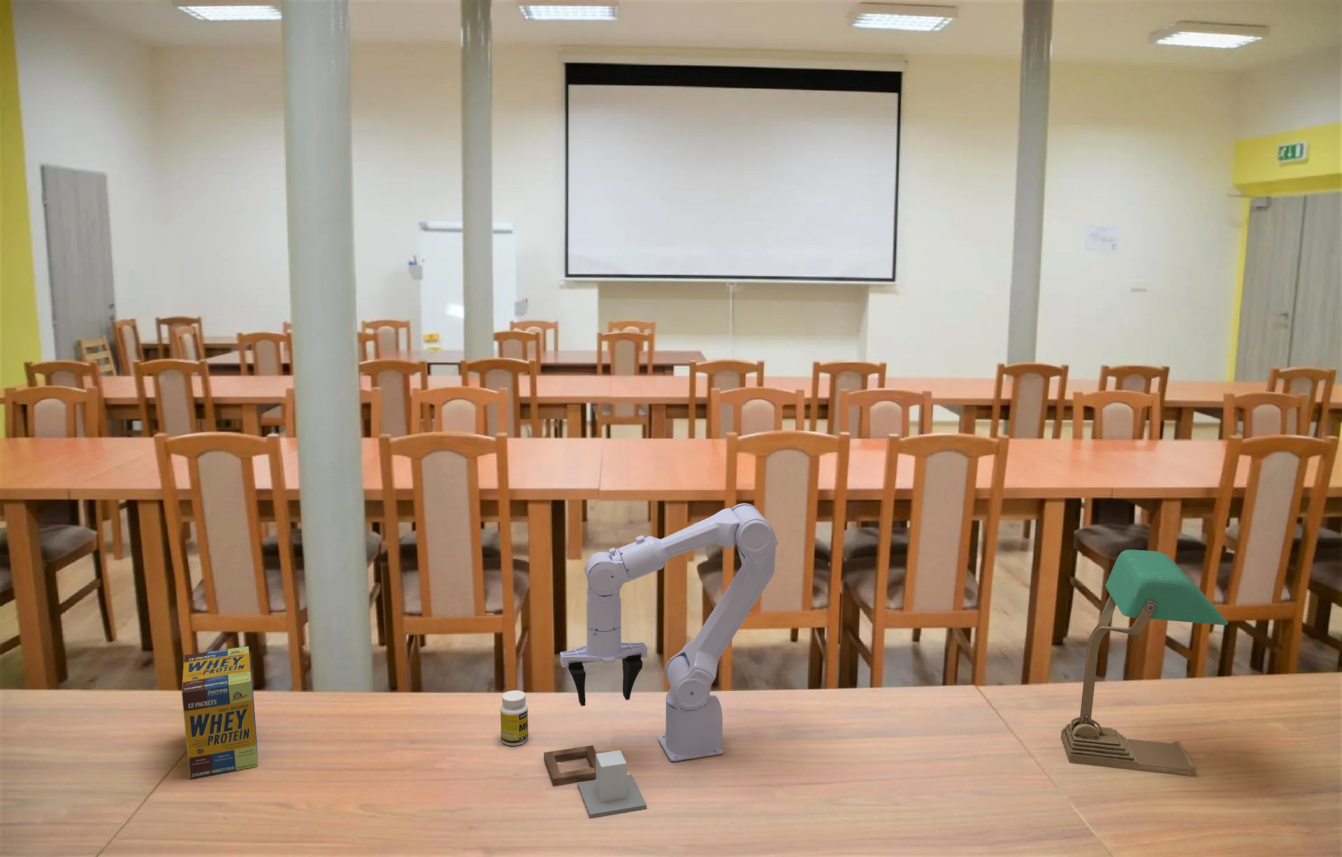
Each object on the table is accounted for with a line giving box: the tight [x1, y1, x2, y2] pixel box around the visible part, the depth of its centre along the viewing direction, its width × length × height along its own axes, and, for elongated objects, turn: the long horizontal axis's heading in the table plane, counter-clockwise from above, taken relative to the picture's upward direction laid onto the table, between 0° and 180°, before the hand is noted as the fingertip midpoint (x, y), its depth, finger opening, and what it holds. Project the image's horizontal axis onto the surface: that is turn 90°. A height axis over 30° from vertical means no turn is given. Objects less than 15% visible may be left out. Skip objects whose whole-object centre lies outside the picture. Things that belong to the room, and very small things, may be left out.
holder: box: [543, 744, 598, 787], centre depth 166 cm, size 8×8×1 cm
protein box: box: [181, 645, 259, 780], centre depth 169 cm, size 10×15×16 cm
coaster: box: [577, 774, 648, 819], centre depth 158 cm, size 9×9×1 cm
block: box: [595, 750, 627, 802], centre depth 157 cm, size 4×4×6 cm
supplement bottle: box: [499, 690, 529, 747], centre depth 174 cm, size 5×5×8 cm
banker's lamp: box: [1060, 549, 1229, 777], centre depth 168 cm, size 16×21×35 cm
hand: (604, 700), depth 169 cm, fingers open, 7 cm apart
